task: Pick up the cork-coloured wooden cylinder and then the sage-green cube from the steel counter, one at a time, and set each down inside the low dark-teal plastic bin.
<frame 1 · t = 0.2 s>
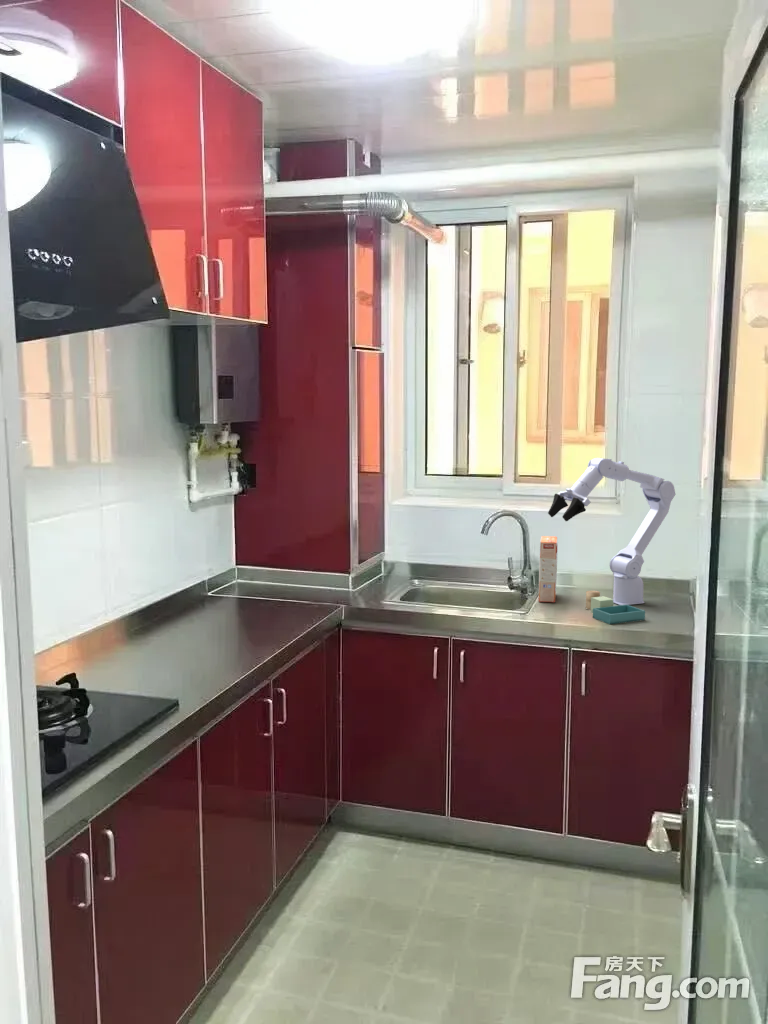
hand: (557, 517, 282), 31 cm above the counter, tool tilted 45°, fingers open, 7 cm apart
bin: (618, 618, 274), on the counter
sage cube: (601, 613, 282), on the counter
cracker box: (547, 598, 303), on the counter
cork cylinder: (592, 608, 289), on the counter
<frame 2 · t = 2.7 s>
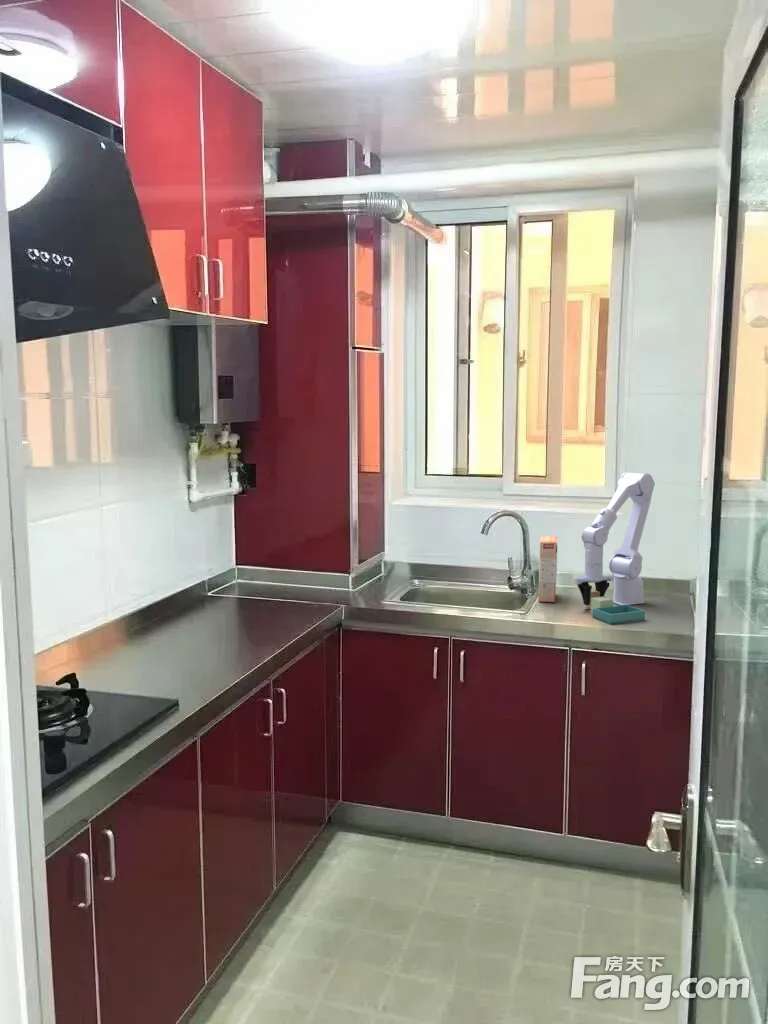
hand: (592, 604, 288), 1 cm above the counter, tool pointing down, fingers closed on cork cylinder, 4 cm apart
cork cylinder: (592, 608, 289), on the counter, touching gripper
everything else where it was.
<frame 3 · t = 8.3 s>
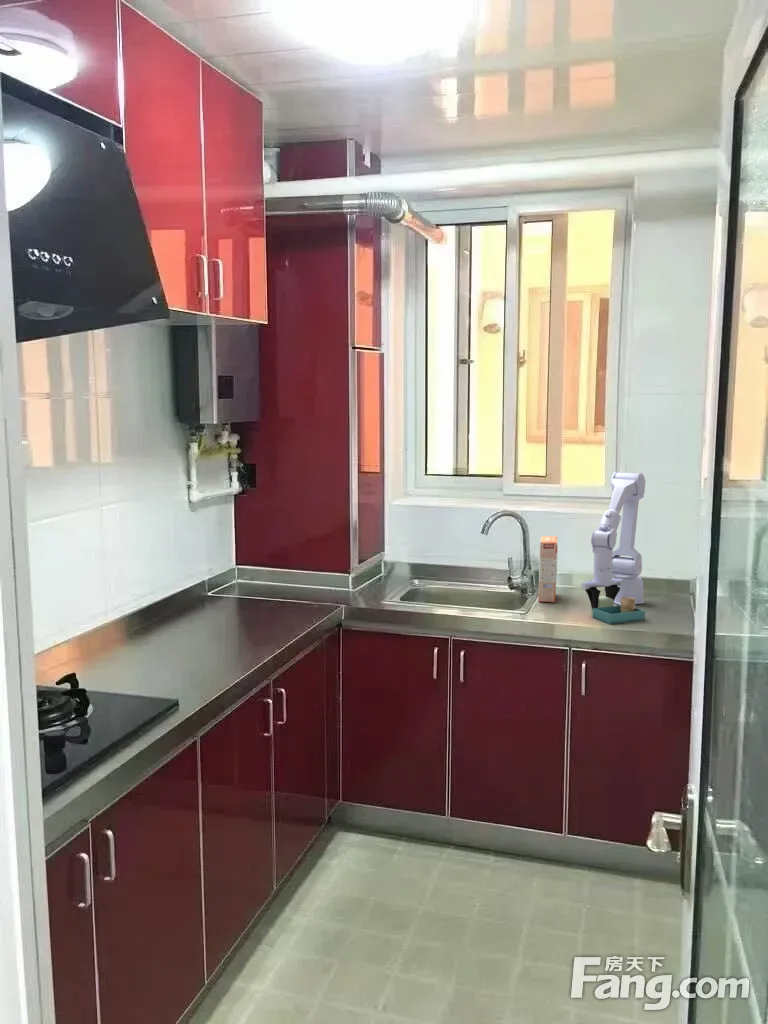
hand: (601, 609, 281), 1 cm above the counter, tool pointing down, fingers closed on sage cube, 5 cm apart
sage cube: (601, 613, 282), on the counter, touching gripper
cork cylinder: (627, 615, 276), point 1 cm above the counter, touching bin
everything else where it was.
when the fingers open (4 cm above the counter, at t = 11.0 s): sage cube stays where it is and tips over, resting on bin.
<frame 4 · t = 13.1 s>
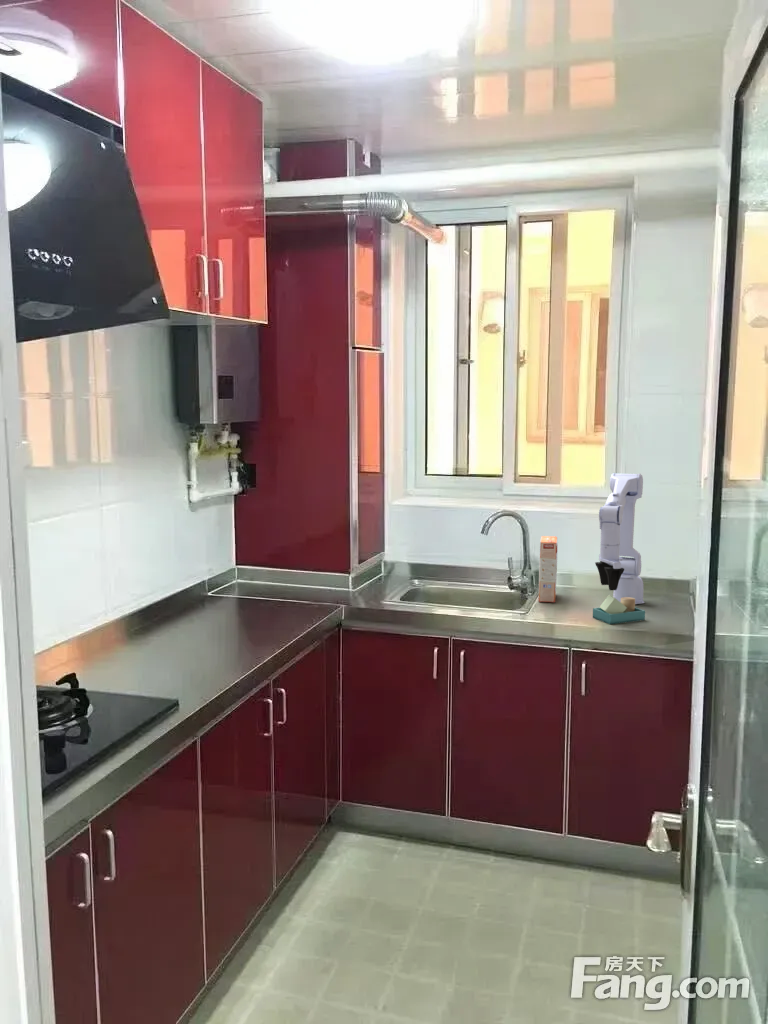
hand: (608, 587, 272), 10 cm above the counter, tool pointing down, fingers open, 7 cm apart
sage cube: (608, 613, 272), point 2 cm above the counter, tilted 38°, touching bin
everything else where it was.
at the end: cork cylinder inside the target area on the bin (3.5 cm from its centre), point 0.6 cm above the bin's base; sage cube inside the target area on the bin (4.2 cm from its centre), point 2.2 cm above the bin's base; the gripper is holding nothing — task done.
